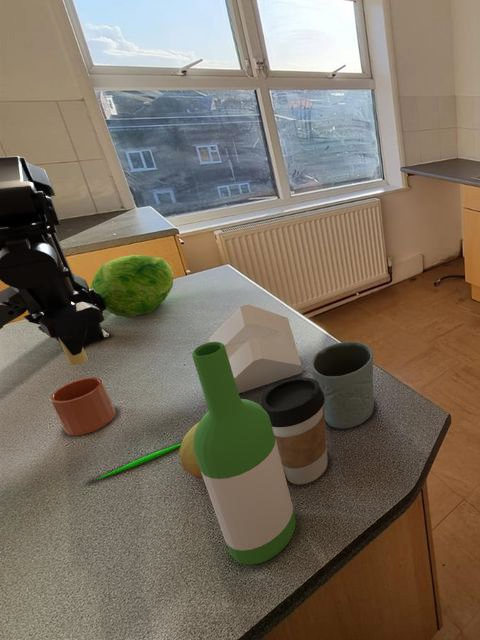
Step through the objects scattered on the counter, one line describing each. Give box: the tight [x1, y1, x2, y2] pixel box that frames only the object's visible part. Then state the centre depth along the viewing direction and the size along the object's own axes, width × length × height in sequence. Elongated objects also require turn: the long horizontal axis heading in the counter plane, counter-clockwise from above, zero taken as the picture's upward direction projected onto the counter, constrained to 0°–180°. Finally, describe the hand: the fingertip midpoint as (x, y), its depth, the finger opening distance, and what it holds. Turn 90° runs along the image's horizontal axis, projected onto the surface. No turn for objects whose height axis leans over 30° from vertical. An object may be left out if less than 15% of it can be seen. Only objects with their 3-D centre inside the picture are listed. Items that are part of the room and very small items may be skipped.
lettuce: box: [89, 254, 175, 318], centre depth 109 cm, size 15×23×16 cm
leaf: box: [93, 442, 182, 482], centre depth 68 cm, size 1×14×1 cm, turn 131°
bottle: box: [191, 342, 297, 566], centre depth 51 cm, size 8×8×30 cm
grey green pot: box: [310, 341, 375, 430], centre depth 76 cm, size 10×10×12 cm
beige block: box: [208, 304, 303, 394], centre depth 84 cm, size 14×11×18 cm
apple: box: [178, 421, 204, 480], centre depth 66 cm, size 10×10×8 cm
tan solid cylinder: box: [58, 338, 88, 367], centre depth 72 cm, size 2×2×8 cm
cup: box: [49, 376, 116, 436], centre depth 74 cm, size 6×6×7 cm
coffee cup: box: [260, 377, 329, 485], centre depth 64 cm, size 8×8×15 cm
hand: (73, 351), depth 72 cm, fingers closed on tan solid cylinder, 2 cm apart
